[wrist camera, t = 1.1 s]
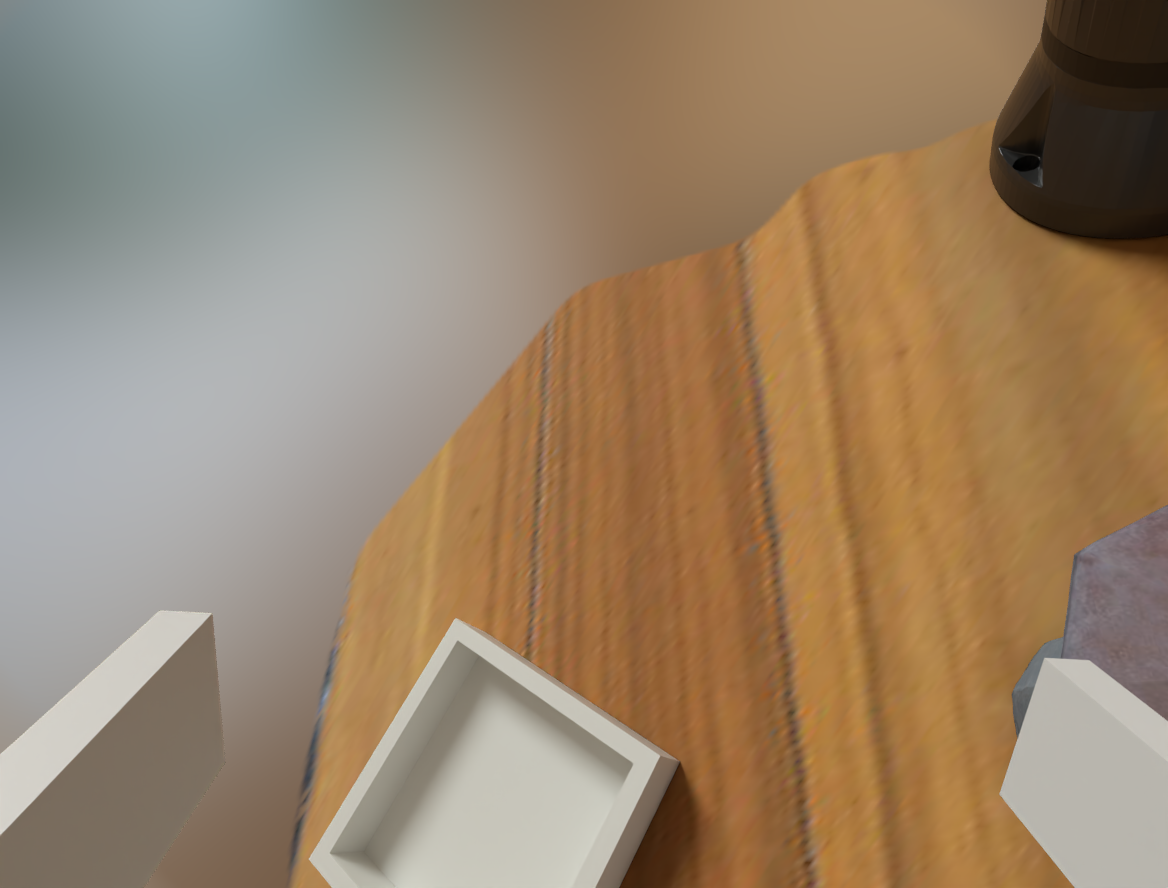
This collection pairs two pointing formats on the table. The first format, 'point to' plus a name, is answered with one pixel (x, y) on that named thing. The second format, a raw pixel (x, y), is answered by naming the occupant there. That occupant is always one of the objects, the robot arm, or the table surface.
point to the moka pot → (1116, 615)
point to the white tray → (495, 783)
